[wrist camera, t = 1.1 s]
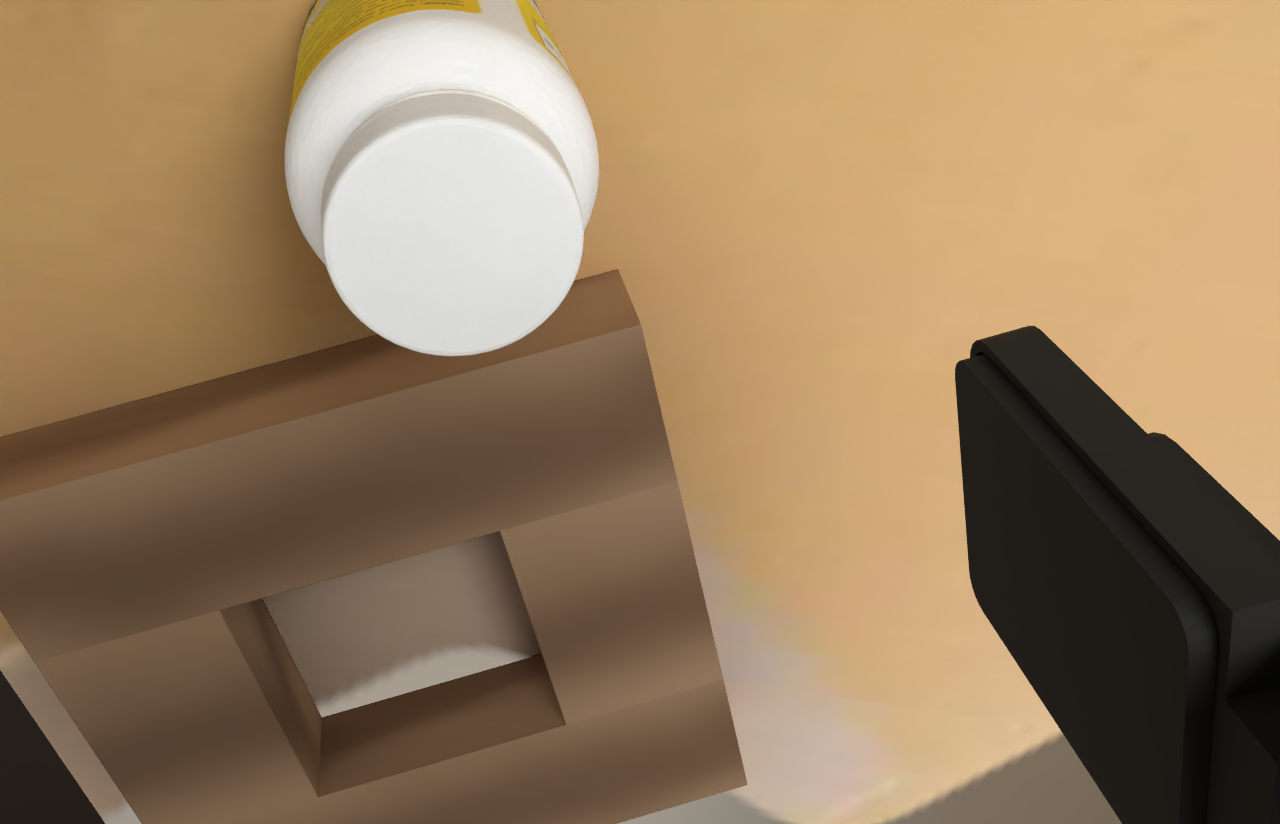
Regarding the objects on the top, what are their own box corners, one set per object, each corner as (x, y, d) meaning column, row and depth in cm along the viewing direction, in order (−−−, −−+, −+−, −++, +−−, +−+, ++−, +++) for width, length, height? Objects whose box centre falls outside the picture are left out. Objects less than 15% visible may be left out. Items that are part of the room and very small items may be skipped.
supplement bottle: (260, 115, 27) (212, 316, 18) (364, -119, 25) (363, -12, 16) (482, 219, 29) (529, 441, 21) (595, 12, 27) (696, 164, 19)
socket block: (-25, 444, 29) (-62, 517, 27) (617, 269, 30) (640, 324, 28) (229, 856, 38) (219, 941, 35) (722, 712, 39) (747, 784, 36)
